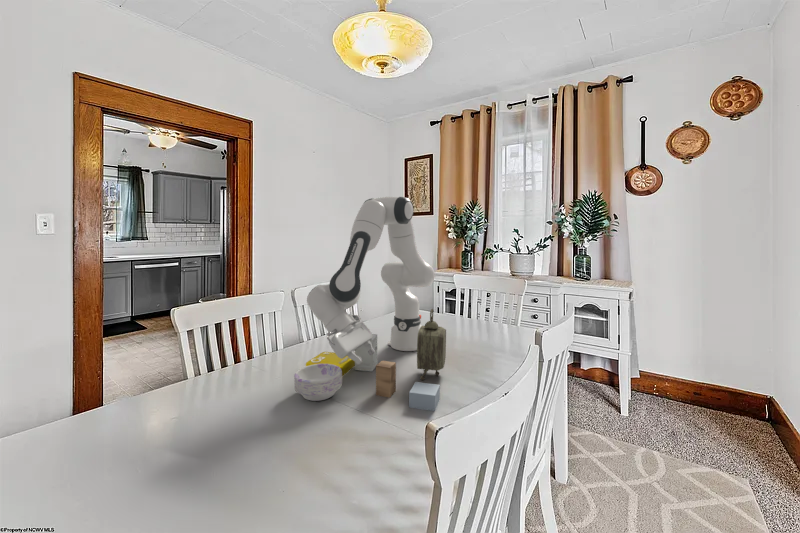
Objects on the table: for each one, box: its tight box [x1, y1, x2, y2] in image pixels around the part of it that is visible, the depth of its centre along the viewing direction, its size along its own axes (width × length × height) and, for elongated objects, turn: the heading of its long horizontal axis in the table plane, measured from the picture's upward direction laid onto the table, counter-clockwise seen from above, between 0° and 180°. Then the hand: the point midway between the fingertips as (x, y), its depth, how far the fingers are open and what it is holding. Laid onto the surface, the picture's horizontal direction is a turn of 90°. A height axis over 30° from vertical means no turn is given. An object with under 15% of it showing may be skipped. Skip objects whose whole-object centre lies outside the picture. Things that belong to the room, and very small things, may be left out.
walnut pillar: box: [375, 360, 397, 398], centre depth 122 cm, size 5×5×10 cm
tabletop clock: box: [416, 308, 447, 381], centre depth 136 cm, size 14×9×25 cm, turn 168°
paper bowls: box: [293, 364, 343, 402], centre depth 121 cm, size 15×15×8 cm
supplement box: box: [354, 333, 378, 372], centre depth 144 cm, size 7×7×13 cm
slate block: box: [408, 381, 441, 412], centre depth 115 cm, size 8×8×5 cm
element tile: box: [305, 351, 355, 377], centre depth 143 cm, size 15×15×5 cm
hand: (367, 358), depth 123 cm, fingers open, 8 cm apart
